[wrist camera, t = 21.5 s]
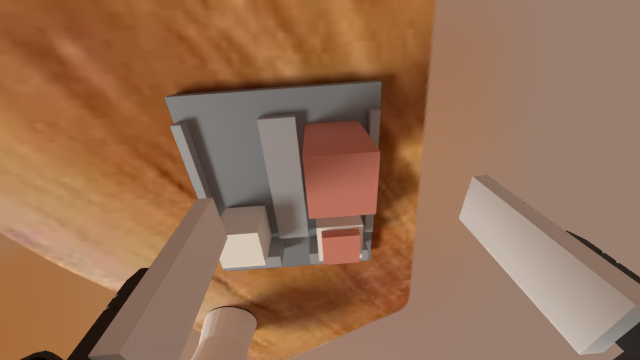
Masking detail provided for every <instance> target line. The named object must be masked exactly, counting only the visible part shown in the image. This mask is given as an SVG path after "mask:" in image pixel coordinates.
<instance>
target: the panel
mask: <svg viewBox="0 0 640 360" xmlns="http://www.w3.org/2000/svg"><path fill="white" fill-rule="evenodd" d="M381 87H382V82H381V81H379V80H368V81H354V82H340V83H326V84H312V85H297V86H283V87H269V88H255V89H241V90H227V91H213V92H199V93H185V94H174V95H170V96H167V97H164V98H165V100H166V103H167V106H168V108H169V111H170V114H171V116H172V119H173V122H174V124H173V125H171V126H170V128H171V130H172V133H173V135H174V138H175V140H176V143H177V146H178V148H179V151H180V153H181V156H182V159H183V161H184V164H185V166H186V169H187V171H188V174H189V177H190V179H191V182H192V184H193V187H194V189H195V192H196V195H197V197H198V199H202V198H213V200H214V202H215V205H216V208H217V210H218V213H219V216H220V217H221V216H222V214H223V212H224V210H225V208H236V207H249V206H263V205H265V206H266V210H267V215H268V219H269V224H270V229H271V233H272V238H271V243H270V247H269V252H268V257H267V262H266V265H263V266H250V267H237V268H224V270H225V271H237V270H250V269H263V268H277V267H290V266H303V265H316V264H324V261H319V253H318V241H317V230H316V219H309V213H308V203H307V194H306V185H305V175H304V166H303V143H304V127H305V124H314V123H328V122H342V121H356V120H358V121H359V123H360V124H361V125H362V127H363V128H364V129H365V131H366V132H367V134H368V135H369V136H370V138H371V139H372V140H373V142H374V143H375V145H376V146H377V147H378V149H379V134H380V119H381V110H380V103H381ZM360 216H361V219H362V222H363V244H362V258H360V259H359V261H368V260H370V254H371V239H372V232H373V222H374V214H369V215H360Z"/></svg>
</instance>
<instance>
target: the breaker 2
mask: <svg viewBox="0 0 640 360" xmlns="http://www.w3.org/2000/svg"><path fill="white" fill-rule="evenodd" d="M316 230H317V241H318V253H319V261H324V265H328V264H341V263H354V262H359V259H360V258H362V244H363V222H362V219H361V216H360V215H356V216H342V217H329V218H316Z"/></svg>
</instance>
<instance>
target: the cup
mask: <svg viewBox="0 0 640 360" xmlns="http://www.w3.org/2000/svg"><path fill="white" fill-rule="evenodd" d="M256 326H257V321H256V318H255V317H254V316H253V315H252V314H250V313H249V312H247V311H245V310H243V309H239V308H233V307H224V308H218V309H214V310H213V311H211V312H209V313H208V314H207V315H206V318H205V321H204V324H203V328H202V332H201V337H200V342H199V346H198V347H197V350H196V351H195V353H194V355H193V357H192V359H191V360H247V355H248V350H249V347H250V344H251V341H252V338H253V336H254V333H255V329H256Z"/></svg>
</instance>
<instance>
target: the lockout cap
mask: <svg viewBox="0 0 640 360" xmlns="http://www.w3.org/2000/svg"><path fill="white" fill-rule="evenodd" d="M380 152H381V151H380V150H379V149H378V147H377V146H376V145H375V143H374V142H373V140H372V139H371V138H370V136H369V135H368V134H367V132H366V131H365V129H364V128H363V127H362V125H361V124H360V123H359V121H358V120H356V121H342V122H328V123H314V124H305V127H304V143H303V166H304V175H305V185H306V194H307V203H308V213H309V219H316V218H329V217H342V216H356V215H369V214H376V207H377V193H378V180H379V166H380Z"/></svg>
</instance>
